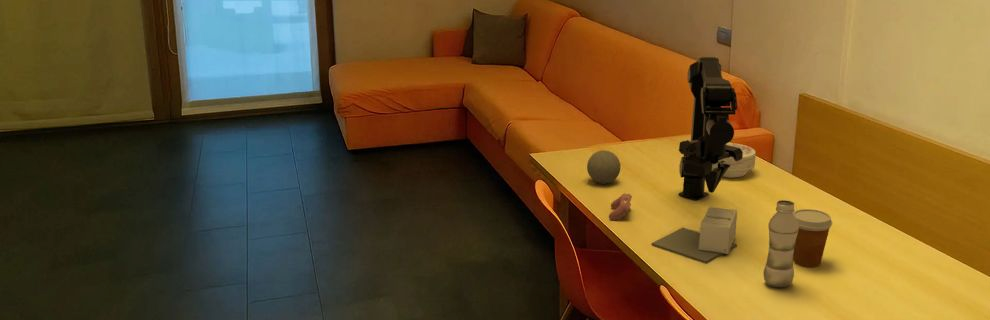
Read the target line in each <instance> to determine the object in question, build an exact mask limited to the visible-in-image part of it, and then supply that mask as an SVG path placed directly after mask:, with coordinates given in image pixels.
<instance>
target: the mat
mask: <svg viewBox="0 0 990 320" xmlns="http://www.w3.org/2000/svg"><path fill="white" fill-rule="evenodd" d="M699 238H700V231H699V232H698V231H695V230H692V229H689V228H686V227H680V228H678V229H677V230H675V231H673V232H670V233H669V234H666V235H664V236H662V237H661V238H658V239H657V240H655V241H653V242H651V245H650V246H653V247H655V248H658V249H662V250H665V251H667V252H671V253H674V254H677V255H679V256H682V257H685V258H687V259H691V260H694V261H697V262H700V263H703V264H708V263H710V262H712V261H713V260H715V259H717V258H719V257H720V256H723V255H724V254H725V253H718V252H711V251H703V250H699ZM737 246H738V245H737V243H734V242H733V243H732V245H731V248H730V251H731V250H733V249H734V248H737Z"/></svg>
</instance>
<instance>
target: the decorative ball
mask: <svg viewBox="0 0 990 320" xmlns="http://www.w3.org/2000/svg"><path fill="white" fill-rule="evenodd" d="M586 170H587V174H588V176H589V177H590V178H591V179H592V180H593V181H594V182H596V183H598V184H604V185H605V184H610V183H612V182H614V181H615V180H617V178H618V177H619V175H620V172H621V162H620V159H619V158H618V156H617V155H616V154H615V153H613V151H610V150H605V149H603V150H598V151H596V152H594V153H593V154H592V155H590V157H589V158H588V161H587V165H586Z"/></svg>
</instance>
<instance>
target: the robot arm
mask: <svg viewBox="0 0 990 320" xmlns="http://www.w3.org/2000/svg"><path fill="white" fill-rule="evenodd" d="M687 83H688V85H689V89H690V92H691V94H692V95H693V105H692V106H693V107H692V108H693V109H692V117H691V119H692V120H691V132H690V140H689V139H687V140H682V141H680V142H679V146H678V152H679V153H680V154H681V155H683V156H681V158H680V163H679V169H678V171H679V173H678V174H679V175H680V178H683V183H682V191H681V192H679V193H678V194H677V195H678V196H679V197H682V198H683V197H684V198H687V199H690V200H694V201H700V200H702V199H704V198H705V197H707V196H709V195H710V193H712V194H713V193H714V192H715V191H716V189H717V187H718V186H719V184H720V182H721V181H722V179H723V178H724V177H723V176H724V174H725V173H726V171H727V169H728V168H729V167H730V165H728V164H725V162H726V161H724V160H725V159H727V158H729V157H734V160H735V161H739V160H741V159H742V157H743V152H742V150H741V149H740V148H737V147H733V146H729V145H726V144H727V143H731V142H732V140H733V138H734V136H735V130H734V127H733V125H732V124H731V122H730V117H729V116H730V115H732V116H733V115H736V111H737V110H738V102H737V101H738V100H737V99H738V97H737V92H736V91H735V88H734V87H732V86H733V85H732V84H731V83H730V81H729V80H728V79H726V78H723V75H722V65H721V64H720V61H719V58H718V57H715V56H701V57H699V58H698V59H697V61H696V62H693V63H691V64H690V65H689V66H688V70H687ZM705 185H706V187H707V191H708V192H707V191H705Z"/></svg>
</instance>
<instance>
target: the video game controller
mask: <svg viewBox="0 0 990 320" xmlns="http://www.w3.org/2000/svg"><path fill="white" fill-rule="evenodd" d="M632 197H633V195H632V194H631V193H630V194H629V193H626V192H624V193H622V194H621V195H620V196H619V197H618V198H616V199H614V200H613V201H612V202H611V204H610V207H611V208H612V211H611V212H610V213H609V214H608V219H609V220H610V221H616V220H618V219H621V218H624V216H625V215H627V213H630V212H631V211H632V208H631V205H632V203H631V202H632V201H631V200H632ZM613 209H614V210H613Z"/></svg>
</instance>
